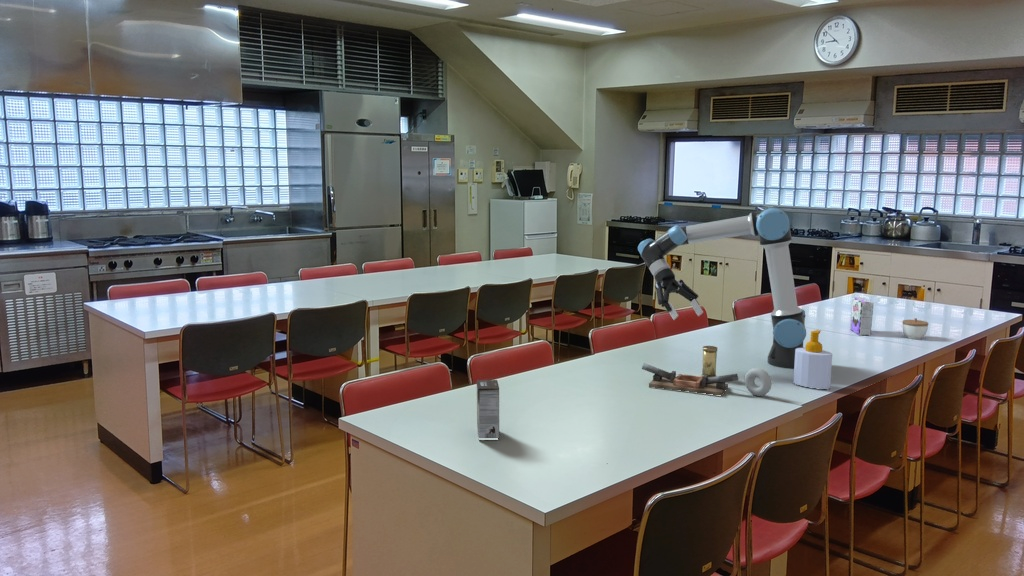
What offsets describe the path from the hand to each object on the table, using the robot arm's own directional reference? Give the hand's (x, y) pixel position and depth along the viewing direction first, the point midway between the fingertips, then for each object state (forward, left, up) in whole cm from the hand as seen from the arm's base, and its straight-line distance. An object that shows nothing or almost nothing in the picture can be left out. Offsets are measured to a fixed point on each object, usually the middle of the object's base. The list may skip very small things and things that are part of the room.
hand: (688, 316), depth 290 cm
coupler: (-10, +5, -22) cm, 25 cm away
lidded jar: (-82, -107, -23) cm, 136 cm away
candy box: (-59, -108, -23) cm, 125 cm away
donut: (-30, +20, -23) cm, 43 cm away
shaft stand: (-6, +21, -22) cm, 31 cm away
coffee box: (+36, +97, -23) cm, 106 cm away
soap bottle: (-46, -1, -23) cm, 51 cm away
